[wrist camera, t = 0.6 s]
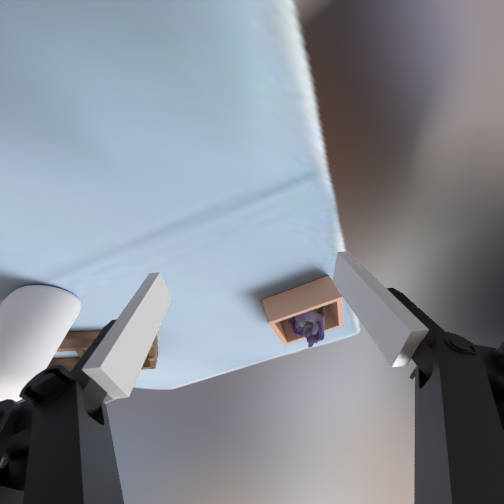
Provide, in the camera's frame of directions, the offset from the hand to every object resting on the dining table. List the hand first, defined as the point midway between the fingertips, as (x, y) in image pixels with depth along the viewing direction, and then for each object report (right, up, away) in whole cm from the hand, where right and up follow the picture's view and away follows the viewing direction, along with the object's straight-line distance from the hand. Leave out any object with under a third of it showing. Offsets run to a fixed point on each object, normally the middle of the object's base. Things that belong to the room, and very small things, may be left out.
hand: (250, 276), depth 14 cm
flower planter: (+11, -10, +27) cm, 31 cm away
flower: (+11, -9, +27) cm, 31 cm away
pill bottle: (-31, -5, +14) cm, 34 cm away
